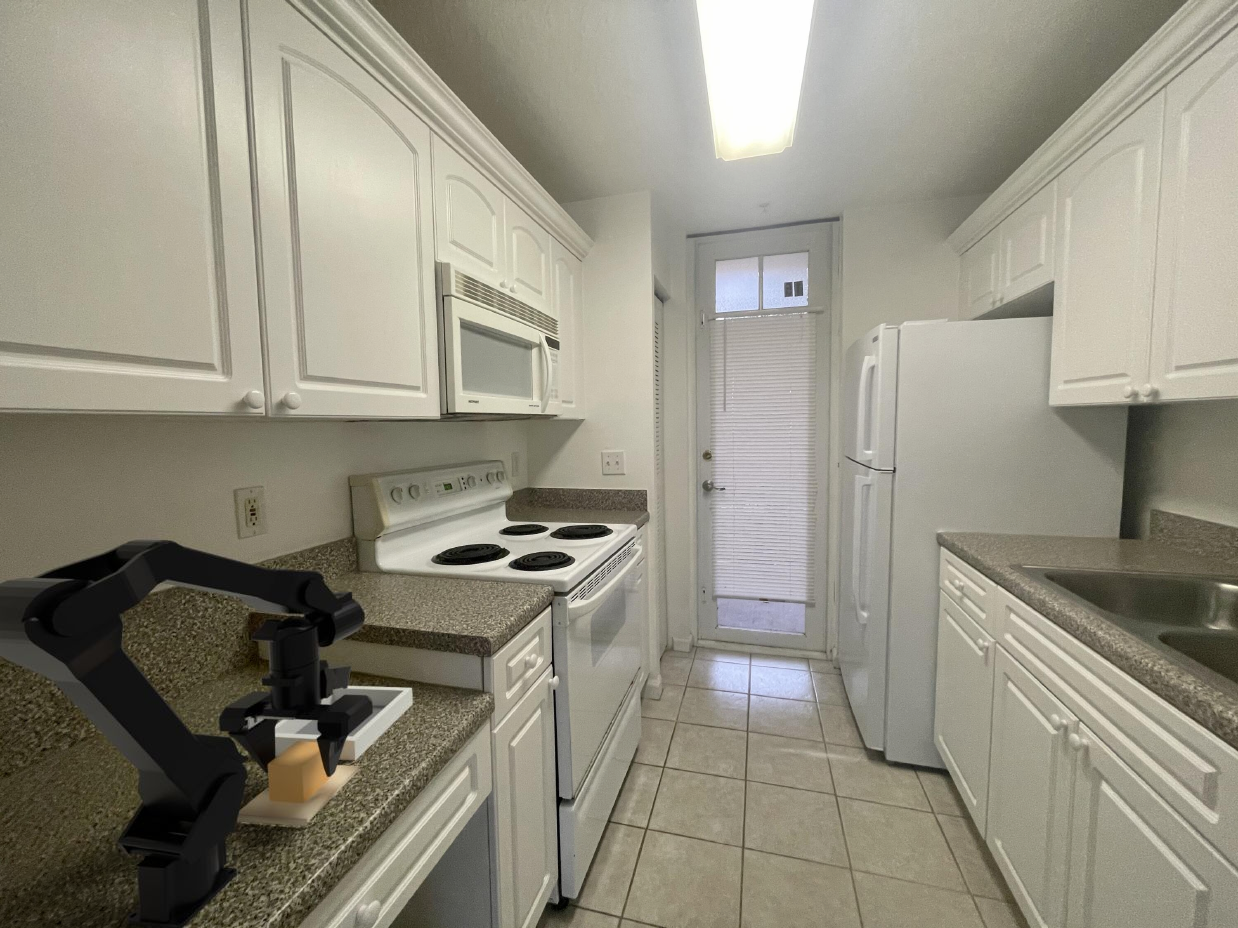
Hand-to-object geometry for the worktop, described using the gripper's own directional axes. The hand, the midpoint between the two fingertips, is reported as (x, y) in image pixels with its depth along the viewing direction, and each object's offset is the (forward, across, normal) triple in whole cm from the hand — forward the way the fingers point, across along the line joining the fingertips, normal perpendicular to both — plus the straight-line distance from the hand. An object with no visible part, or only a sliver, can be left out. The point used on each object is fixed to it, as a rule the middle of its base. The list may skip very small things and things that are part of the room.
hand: (300, 772), depth 66 cm
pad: (+3, 0, 0) cm, 3 cm away
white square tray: (+3, +5, -15) cm, 16 cm away
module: (+2, 0, 0) cm, 2 cm away
